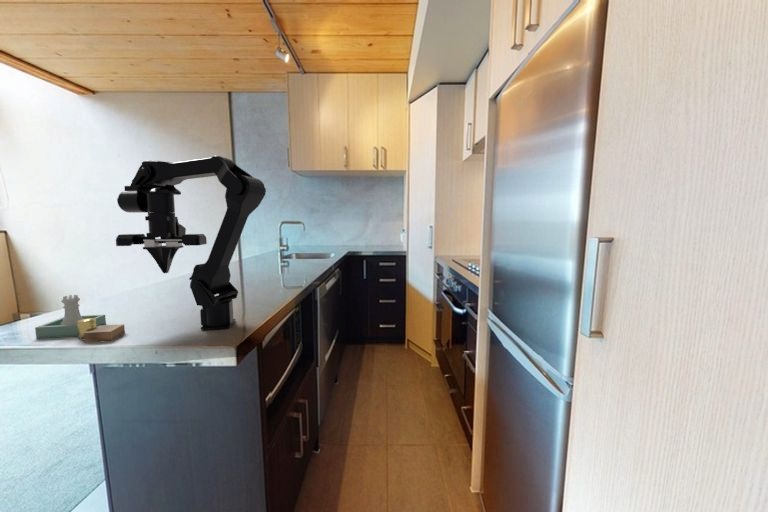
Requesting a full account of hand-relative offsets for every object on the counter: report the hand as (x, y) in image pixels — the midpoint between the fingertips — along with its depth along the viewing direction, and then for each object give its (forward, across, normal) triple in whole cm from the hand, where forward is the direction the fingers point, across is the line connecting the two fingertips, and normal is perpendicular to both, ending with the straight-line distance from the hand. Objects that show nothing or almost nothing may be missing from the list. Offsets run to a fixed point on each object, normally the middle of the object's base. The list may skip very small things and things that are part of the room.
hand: (165, 272), depth 82 cm
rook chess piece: (+13, +19, +4) cm, 23 cm away
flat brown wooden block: (+13, +8, +10) cm, 19 cm away
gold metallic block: (+13, +12, +10) cm, 20 cm away
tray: (+13, +19, +4) cm, 23 cm away
